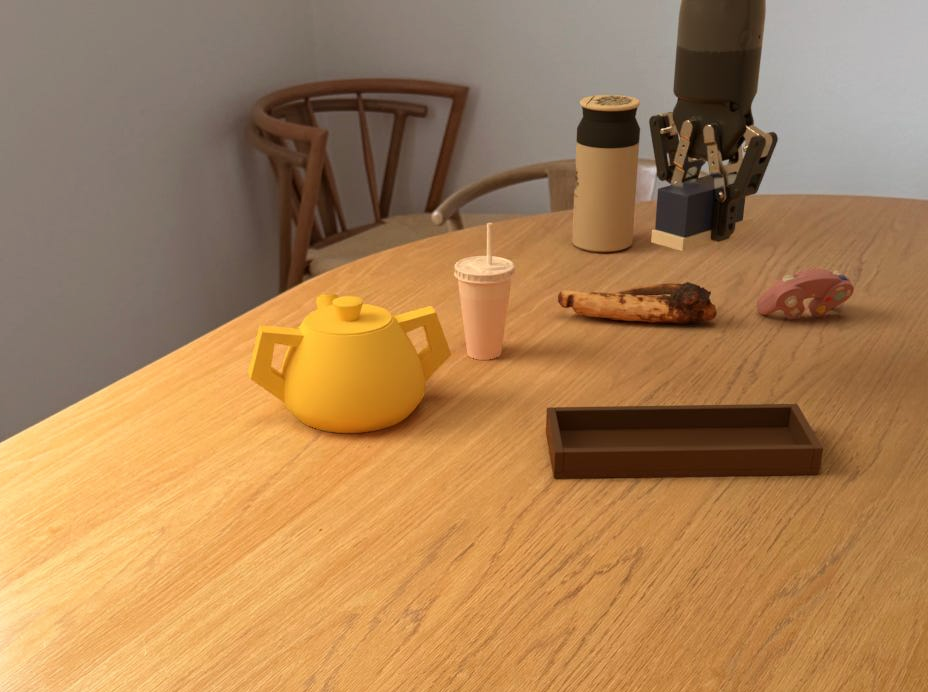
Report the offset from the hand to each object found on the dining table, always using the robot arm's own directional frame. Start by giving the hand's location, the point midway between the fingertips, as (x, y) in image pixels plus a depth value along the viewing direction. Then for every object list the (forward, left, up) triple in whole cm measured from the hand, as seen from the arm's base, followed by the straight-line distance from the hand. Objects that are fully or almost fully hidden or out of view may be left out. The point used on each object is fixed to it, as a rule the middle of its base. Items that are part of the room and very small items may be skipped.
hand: (701, 233), depth 121 cm
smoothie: (+21, -8, -15) cm, 27 cm away
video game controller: (-16, -18, -15) cm, 28 cm away
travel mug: (+4, -46, -15) cm, 48 cm away
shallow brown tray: (+4, +17, -15) cm, 23 cm away
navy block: (0, 0, 0) cm, 0 cm away
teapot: (+35, +4, -15) cm, 38 cm away
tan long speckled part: (+3, -19, -15) cm, 24 cm away
